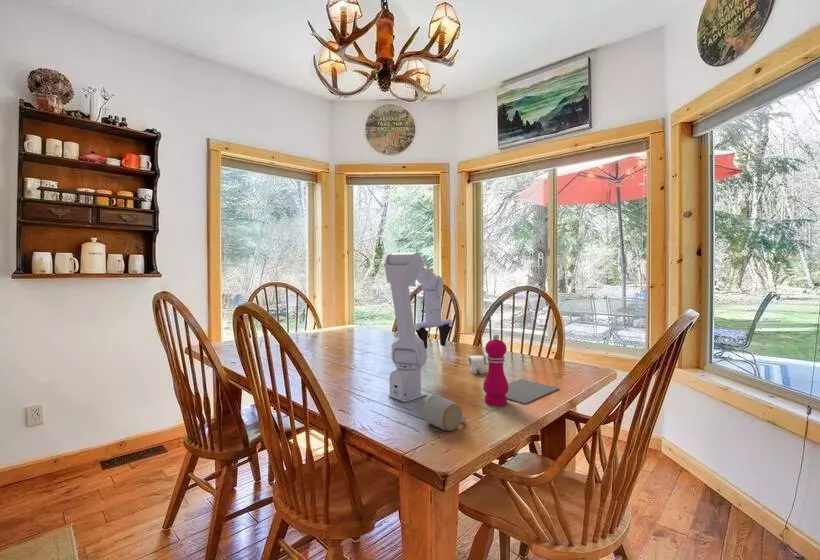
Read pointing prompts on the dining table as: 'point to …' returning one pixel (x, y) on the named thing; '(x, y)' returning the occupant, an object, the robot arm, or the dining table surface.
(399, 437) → the dining table surface
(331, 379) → the dining table surface
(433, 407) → the ceramic mug
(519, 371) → the dining table surface
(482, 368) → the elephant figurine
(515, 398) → the mat
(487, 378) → the pepper mill
